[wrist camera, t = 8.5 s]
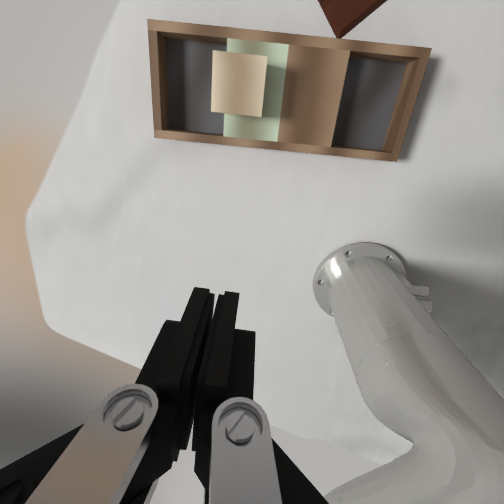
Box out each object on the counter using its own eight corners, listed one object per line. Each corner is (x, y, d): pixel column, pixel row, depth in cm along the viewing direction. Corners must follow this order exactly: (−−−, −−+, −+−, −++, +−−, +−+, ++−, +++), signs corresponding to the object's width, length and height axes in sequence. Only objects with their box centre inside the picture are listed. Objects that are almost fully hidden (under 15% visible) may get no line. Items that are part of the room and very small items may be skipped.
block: (266, 64, 26) (267, 56, 23) (261, 116, 28) (261, 117, 25) (219, 58, 26) (212, 50, 23) (217, 112, 28) (211, 111, 25)
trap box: (415, 54, 28) (431, 48, 25) (385, 157, 33) (396, 161, 30) (158, 28, 28) (147, 18, 25) (163, 135, 32) (154, 137, 30)
